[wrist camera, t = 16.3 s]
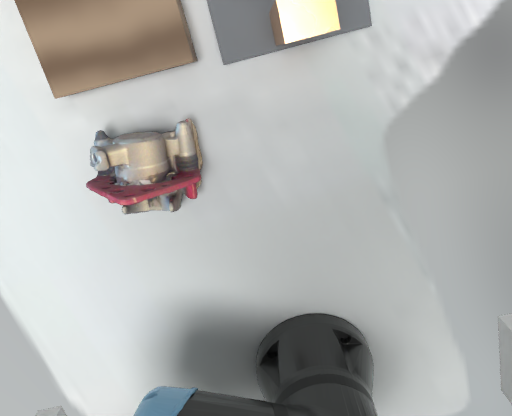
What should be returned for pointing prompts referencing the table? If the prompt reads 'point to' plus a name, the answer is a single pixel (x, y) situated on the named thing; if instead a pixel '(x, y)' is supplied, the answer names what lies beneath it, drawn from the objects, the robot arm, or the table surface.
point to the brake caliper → (147, 168)
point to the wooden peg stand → (105, 40)
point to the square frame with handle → (302, 19)
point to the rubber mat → (270, 26)
